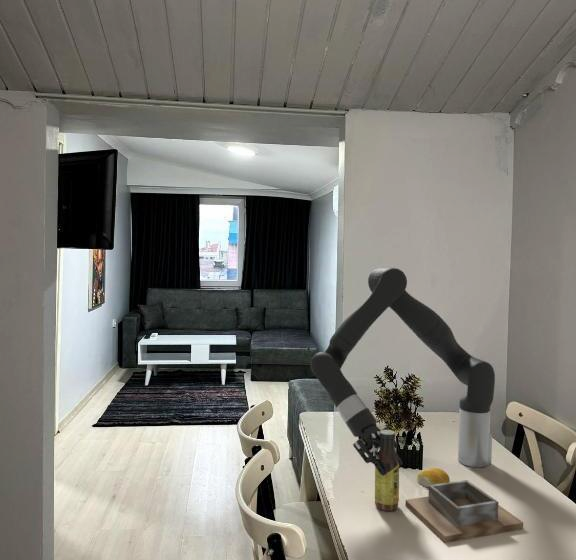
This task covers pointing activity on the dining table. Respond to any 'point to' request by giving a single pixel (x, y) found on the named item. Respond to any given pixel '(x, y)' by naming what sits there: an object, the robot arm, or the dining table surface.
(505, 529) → the bottle stand
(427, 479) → the bread roll
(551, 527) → the dining table surface
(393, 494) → the sauce bottle
